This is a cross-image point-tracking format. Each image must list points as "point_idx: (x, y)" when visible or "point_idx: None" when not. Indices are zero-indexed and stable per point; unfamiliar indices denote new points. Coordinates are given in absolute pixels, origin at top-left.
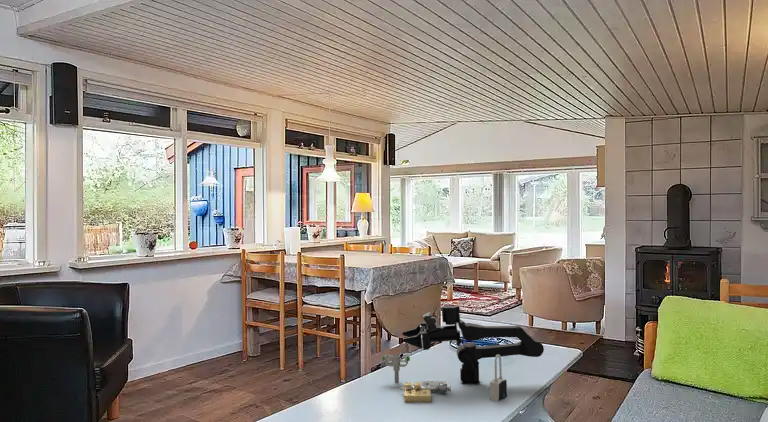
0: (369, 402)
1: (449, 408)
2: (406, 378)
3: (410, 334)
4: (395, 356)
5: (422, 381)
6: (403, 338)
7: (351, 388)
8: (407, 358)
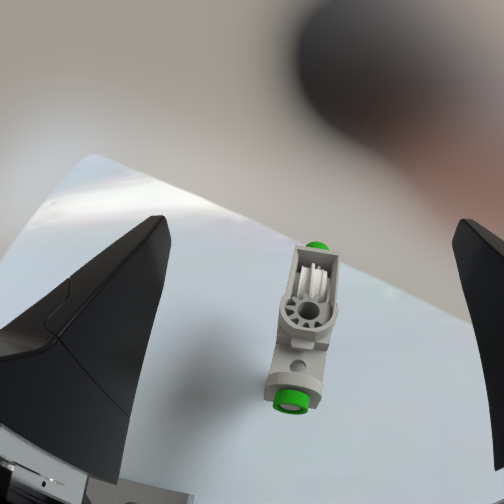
0: (66, 276)
1: None
2: (351, 428)
3: (492, 315)
4: (317, 306)
5: (181, 497)
6: (158, 218)
7: (219, 232)
8: (283, 391)
